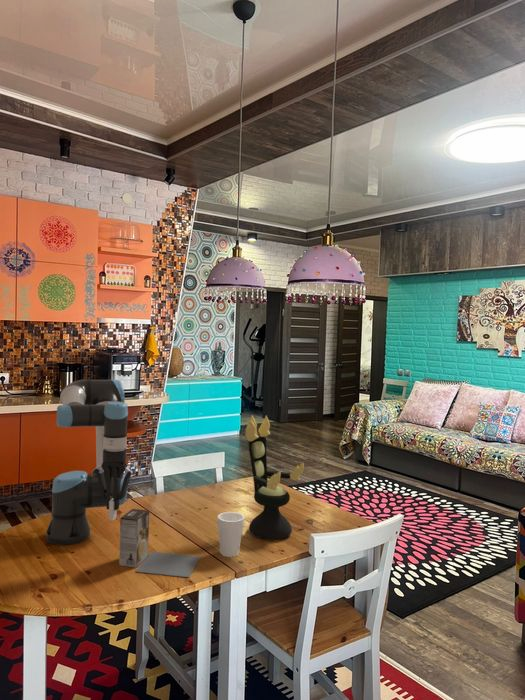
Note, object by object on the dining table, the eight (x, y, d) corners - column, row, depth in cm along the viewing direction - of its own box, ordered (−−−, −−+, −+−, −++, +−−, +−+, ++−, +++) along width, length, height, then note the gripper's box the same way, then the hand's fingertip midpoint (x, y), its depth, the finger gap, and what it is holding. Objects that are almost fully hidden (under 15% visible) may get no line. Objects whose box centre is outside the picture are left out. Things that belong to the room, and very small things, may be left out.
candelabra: (277, 547, 189) (282, 424, 187) (227, 532, 201) (232, 416, 199) (301, 531, 205) (307, 418, 203) (254, 518, 217) (259, 411, 215)
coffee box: (131, 553, 178) (132, 507, 178) (148, 556, 177) (150, 510, 176) (118, 565, 169) (120, 517, 169) (136, 568, 168) (138, 519, 167)
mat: (135, 572, 165) (135, 571, 165) (151, 552, 180) (151, 551, 180) (189, 577, 163) (189, 577, 163) (200, 557, 178) (200, 556, 178)
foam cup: (210, 552, 183) (212, 515, 182) (230, 545, 189) (232, 510, 189) (228, 561, 176) (229, 523, 175) (248, 554, 182) (249, 517, 182)
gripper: (91, 449, 170) (88, 521, 170) (129, 452, 168) (126, 524, 169) (101, 445, 177) (99, 513, 178) (137, 447, 175) (135, 516, 176)
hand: (112, 518), depth 173 cm, fingers closed
